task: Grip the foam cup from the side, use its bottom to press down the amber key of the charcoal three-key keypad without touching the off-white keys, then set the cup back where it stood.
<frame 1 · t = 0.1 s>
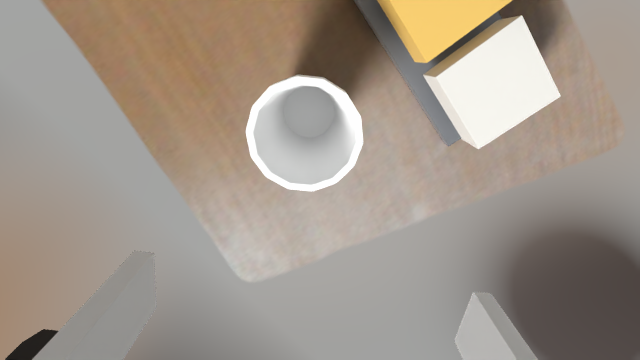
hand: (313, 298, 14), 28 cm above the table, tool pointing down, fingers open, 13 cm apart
key 1: (488, 84, 32), point 6 cm above the table, slide at 0.0 cm
keypad base: (419, 1, 35), on the table
foam cup: (309, 111, 39), on the table
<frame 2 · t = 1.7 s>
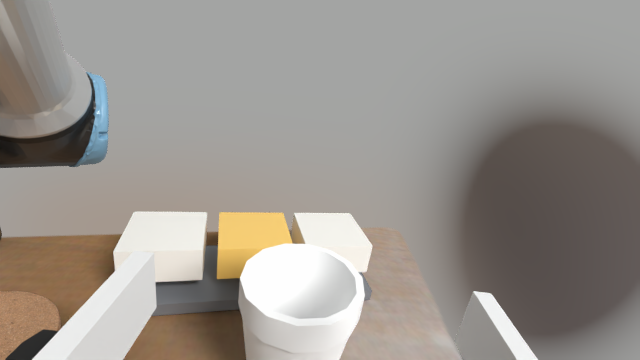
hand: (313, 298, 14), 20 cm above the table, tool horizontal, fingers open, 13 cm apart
key 2: (166, 244, 39), point 5 cm above the table, slide at 0.0 cm
key 1: (328, 241, 44), point 5 cm above the table, slide at 0.0 cm
keypad base: (250, 277, 44), on the table
amber key: (253, 242, 42), point 5 cm above the table, slide at 0.0 cm
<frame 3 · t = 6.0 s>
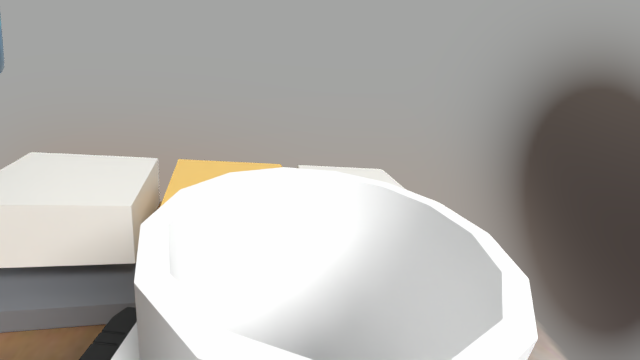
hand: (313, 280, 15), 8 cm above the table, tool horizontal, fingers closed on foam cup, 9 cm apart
key 2: (78, 203, 22), point 6 cm above the table, slide at 0.0 cm
key 1: (353, 206, 28), point 5 cm above the table, slide at 0.0 cm
keypad base: (228, 264, 27), on the table
amber key: (231, 205, 25), point 5 cm above the table, slide at 0.0 cm
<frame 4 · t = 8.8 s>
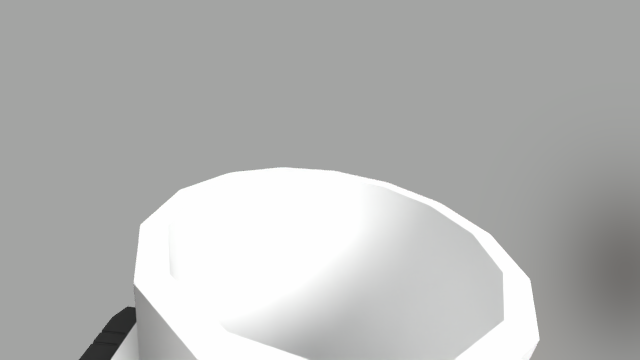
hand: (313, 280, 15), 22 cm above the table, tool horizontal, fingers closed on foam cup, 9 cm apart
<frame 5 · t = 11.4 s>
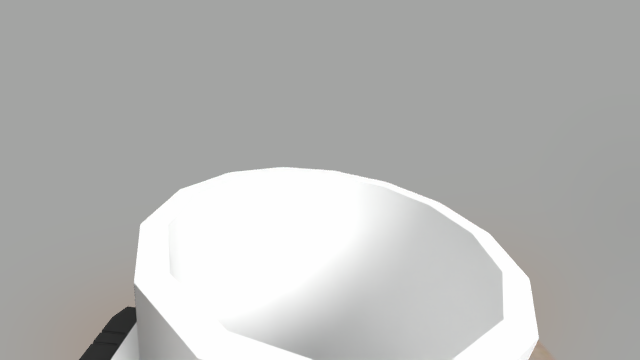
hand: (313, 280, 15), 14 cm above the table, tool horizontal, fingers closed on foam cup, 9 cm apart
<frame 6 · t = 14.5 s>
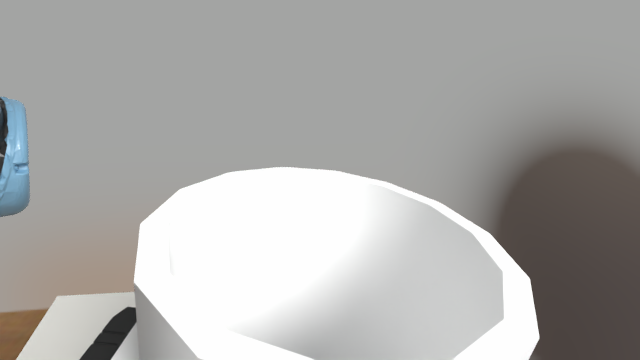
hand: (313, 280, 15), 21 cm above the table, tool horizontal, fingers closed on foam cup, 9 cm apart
key 2: (98, 347, 27), point 5 cm above the table, slide at 0.0 cm
when the fingers open (9 cm above the table, at t = 17.1 s): foam cup drops 1 cm, on the table.
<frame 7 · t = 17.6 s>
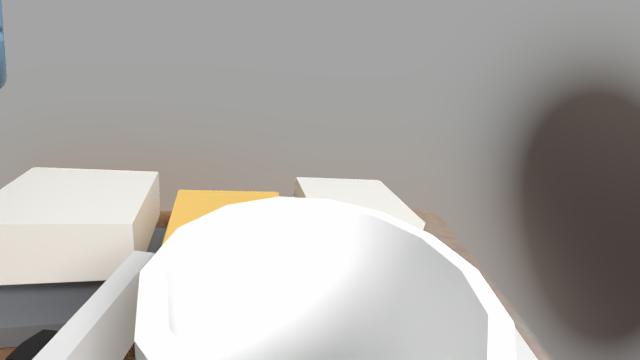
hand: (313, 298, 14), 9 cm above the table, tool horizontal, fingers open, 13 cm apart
key 2: (80, 218, 23), point 5 cm above the table, slide at 0.0 cm
key 1: (350, 218, 29), point 5 cm above the table, slide at 0.0 cm
keypad base: (228, 276, 28), on the table
amber key: (230, 235, 26), point 4 cm above the table, slide at 1.6 cm
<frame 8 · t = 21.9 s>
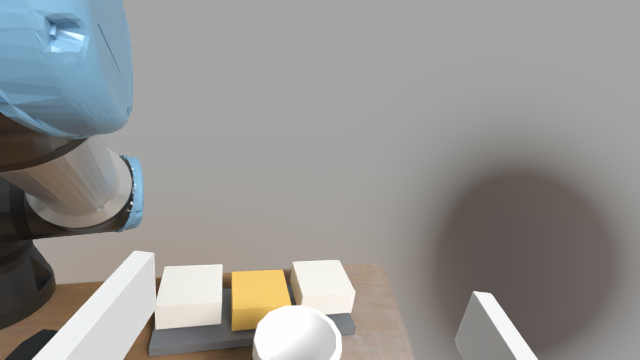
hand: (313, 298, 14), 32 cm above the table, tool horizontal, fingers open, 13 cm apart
key 2: (191, 294, 49), point 5 cm above the table, slide at 0.0 cm
key 1: (320, 286, 55), point 5 cm above the table, slide at 0.0 cm
keypad base: (257, 316, 54), on the table
amber key: (259, 297, 52), point 4 cm above the table, slide at 1.6 cm
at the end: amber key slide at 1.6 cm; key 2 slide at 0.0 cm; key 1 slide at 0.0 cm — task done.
